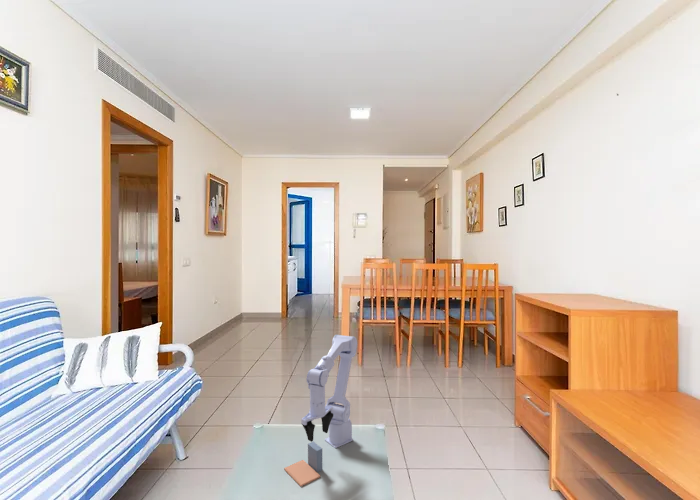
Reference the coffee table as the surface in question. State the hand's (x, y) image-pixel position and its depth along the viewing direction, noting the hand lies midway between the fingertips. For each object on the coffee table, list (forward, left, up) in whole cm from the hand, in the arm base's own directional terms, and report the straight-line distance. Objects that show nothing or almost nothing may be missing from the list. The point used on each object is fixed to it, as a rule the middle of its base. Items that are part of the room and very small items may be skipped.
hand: (317, 436), depth 137 cm
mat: (+8, +2, -10) cm, 13 cm away
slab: (+2, +2, -10) cm, 11 cm away
